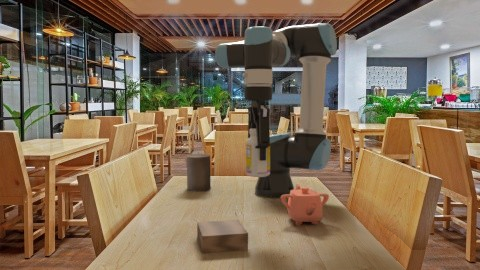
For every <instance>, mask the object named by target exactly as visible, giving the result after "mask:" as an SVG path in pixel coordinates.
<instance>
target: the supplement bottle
mask: <svg viewBox="0 0 480 270" xmlns="http://www.w3.org/2000/svg"><path fill="white" fill-rule="evenodd" d="M249 133H250V138H248V137H247V139H246V141H245V172H246V176H249V177H251V178H258V177H265V176H268V175H270V146H269V147H268V148H267V172H263V173H257V149H256V148H255V146H258V143H257V132H256V128H254V129H249Z"/></svg>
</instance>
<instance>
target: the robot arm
mask: <svg viewBox="0 0 480 270" xmlns="http://www.w3.org/2000/svg"><path fill="white" fill-rule="evenodd" d="M337 43H338V41H337V35H336V31H335V29H334V27H333V25H332V24H330V23H328V22H325V23H324V22H323V23H322V22H321V23H320V22H318V23H310V24H309V23H308V24H301V25H291V26H287V27H283V28H280V29H277V30H273V29H272V28H271V27H269V26H258V25H257V26H250V27H248V28H246V29H245V31H244V40H241V41H236V42H226V43H220V44H218V45H217V47H216V49H215V54H214V56H215V62H216V64H217V65H218V67H220V68H222V69H233V68H236V69H239V68H244V73H242V77H244V85H245V87H244V92H243V93H244V101H250V102H251V104H250V107H248V108H247V112H248V115H247V117H248V118H247V119H248V120H247V122H248V123H247V124H248V125H247V139H248V138H250V133H249V129H254V128H256V132H257V143H258V146H255V148H256V149H257V173H263V172H267V148H268V147H269V146H270V175H268V176H265V177H257V181H256V184H255V187H254V193H255V195H257V196H261V197H266V198H281V196H282V195H286V194H290V191H291V190H295V187H294V183H293V180H292V176H291V169H296V170H297V169H298V170H307V171H308V170H309V171H322V170H324V169H325V168H326V167H327V165H328V163H329V161H330V157H331V152H332V143H331V139H329V138H327V133H326V131H324V128H323V127H324V111H325V94H326V93H325V92H326V79H327V66H328V64H329V63H331V61H332V56H334V55H336V54H337V50H338V44H337ZM295 57H296V58H299V59H298V61H299V62H300V63H301V64H302V76H301V78H302V79H301V94H300V106H299V107H300V110H299V112H300V113H299V125H298V129H297V130H296V131H295V132H294V137H292V136H291V133H278V134H276V133H275V134H270V130H271V129H270V113H271V112H270V111H271V109H270V108H268V107H267V105H266V101H272V100H273V87H272V86H271V85H273V68H281V67H284V66H285V65H286V64H288V62H289V61H290V58H295Z"/></svg>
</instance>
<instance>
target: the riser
mask: <svg viewBox="0 0 480 270" xmlns="http://www.w3.org/2000/svg"><path fill="white" fill-rule="evenodd" d="M196 226H197V227H196V229H197V231H196V232H197V234H196V236H197V241H198V243H199V246H200V249H201V251H202V253H203V254H205V253H217V252H230V251H231V252H233V251H244V250H245V251H246V250H249V232H248V231H247V229H246V228H245V227H244V226H243V224H242V223H241V221H240V220H239V219H233V220H218V221H217V220H216V221H215V220H214V221H197V224H196Z"/></svg>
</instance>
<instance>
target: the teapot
mask: <svg viewBox="0 0 480 270" xmlns="http://www.w3.org/2000/svg"><path fill="white" fill-rule="evenodd" d="M295 187H296V189H294V190H291V191H290V194H286V195H282V196H281V197H280V201H281V203H282V204H283V205H284V206H285V207H286V208H287V213H288V216H289V218H290V220H293V221H295V225H297V226H302V225H303V222H304V223H309V222H310V223H311V225H318V224H319V222H321V221H322V219H323V216H324V215H323V212H324V211H323V210H324V209H323V207H324V206H325V204H327V202H328V201H329V198H330V196H329V194H328V193H323V192H322V193H318V192H317V191H316V190H313V189H310V188H309V187H307V186H306V187H305V186H304V187H301V186H300V184H298V183H296V184H295ZM286 198H287V199H288V200H287V199H286ZM322 198H323V199H322Z"/></svg>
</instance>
